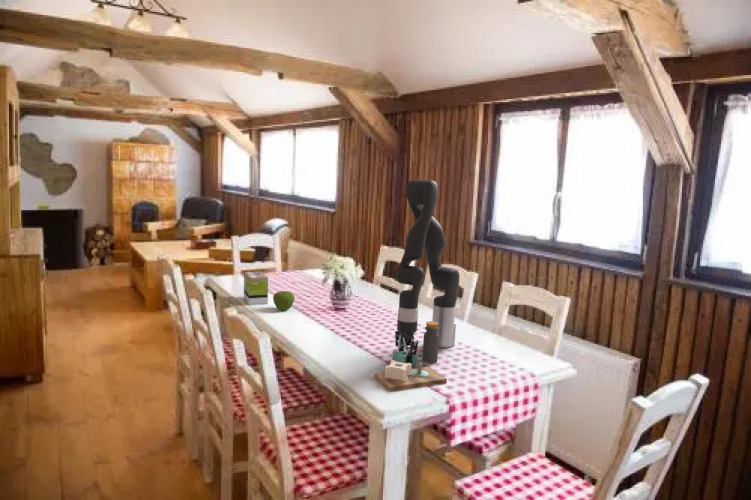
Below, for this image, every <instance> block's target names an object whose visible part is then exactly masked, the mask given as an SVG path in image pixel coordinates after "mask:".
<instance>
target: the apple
mask: <svg viewBox="0 0 751 500" xmlns="http://www.w3.org/2000/svg"><path fill="white" fill-rule="evenodd" d="M272 298H273V303H274V305H275V307H276V309H277V310H278V311H280V312H284V311H285V312H286V311H287V310H289V309H291V308H292V306H293V305H294V303H295V295H294V294H293V293H292V292H290V291H288V290H286V291H285V290H283V291H282V290H281V291H277V292H275V293H274V294H273V296H272Z"/></svg>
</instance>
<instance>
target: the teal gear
mask: <svg viewBox="0 0 751 500" xmlns="http://www.w3.org/2000/svg"><path fill="white" fill-rule="evenodd" d="M406 355H407V354H406V350H404V351H399V350H398V351H397V350H393V351H392V359H391V360H394V361H396V362H401V363H406ZM418 362H419V354H416V355H413V356H412V365H414V366H413V367H418Z"/></svg>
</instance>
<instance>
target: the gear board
mask: <svg viewBox="0 0 751 500" xmlns="http://www.w3.org/2000/svg"><path fill="white" fill-rule="evenodd" d="M397 366H398V367H401V366H400V365H397ZM374 379H375V380H376V381H378V382H379V383H380V384H381V385H382V386H384V388H386V389H387V390H388V391H389V392H394V391H401V390H407V389H415V388H422V387H428V386H433V385H434V386H435V384H436V385H440V384H441V385H442V383H443V384H446V383H448V382H447V380H448V379H447V378H446V377H445V376H444V375H442V374H441V373H439V372H437V371H436V370H435V369H433V368H432V367H430V366H423V362H419V361H418V365H417V367H415V368H412V369H411V375H409V376H407V380H406V381H404V382H403V381H401V380H398V379H393V378H388V379H386V378H385V371H384V372H379V373H374Z"/></svg>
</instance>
